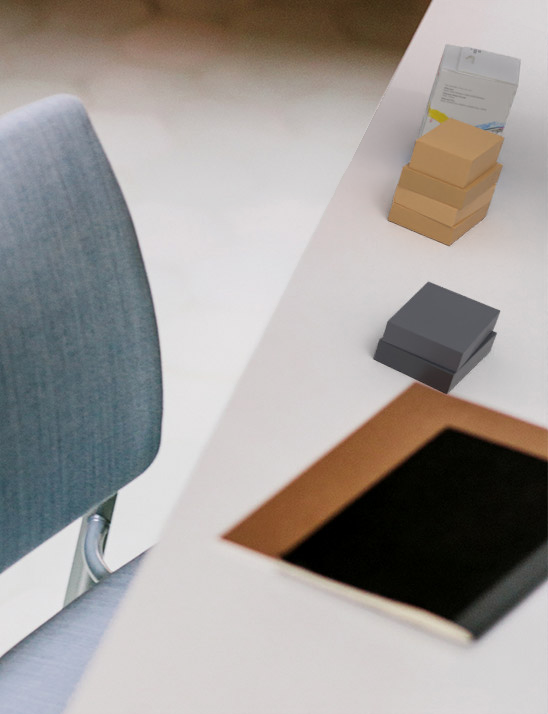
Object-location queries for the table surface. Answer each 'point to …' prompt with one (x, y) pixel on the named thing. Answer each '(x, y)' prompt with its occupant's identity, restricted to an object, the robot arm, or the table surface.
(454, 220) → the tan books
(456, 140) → the tan rectangular block
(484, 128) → the ink box
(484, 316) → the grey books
